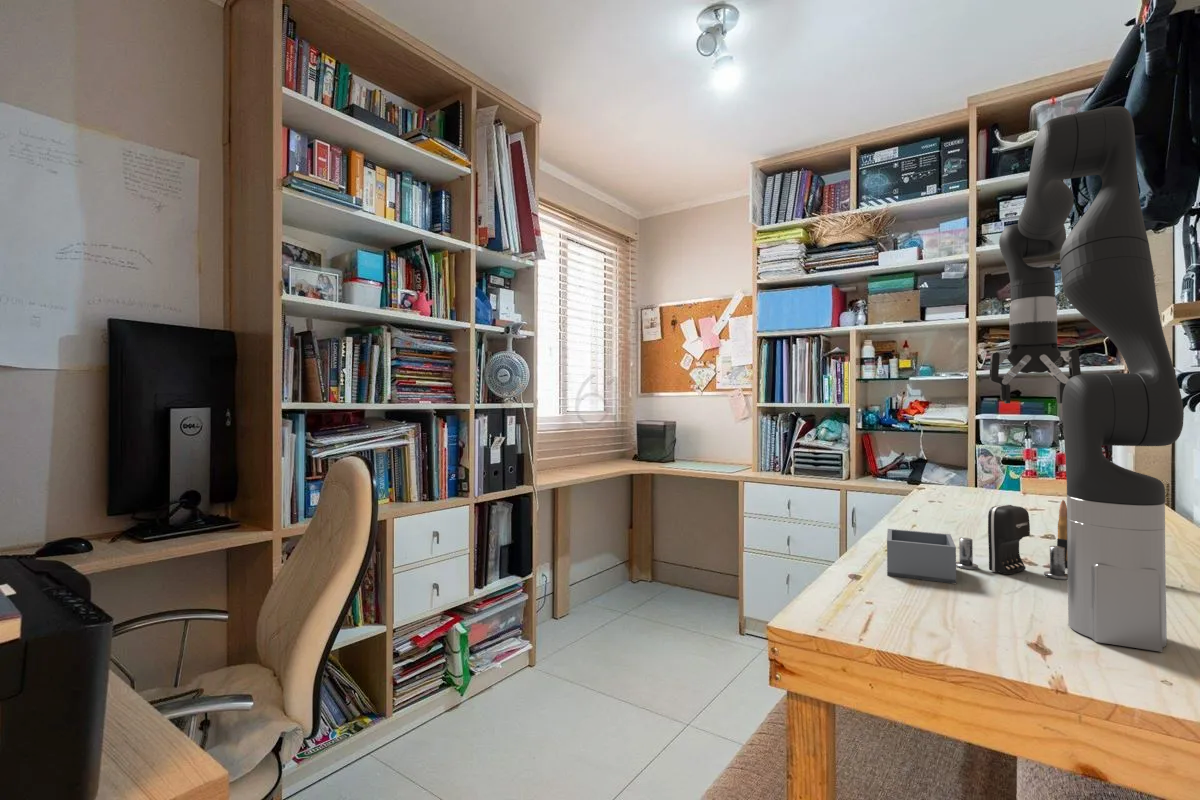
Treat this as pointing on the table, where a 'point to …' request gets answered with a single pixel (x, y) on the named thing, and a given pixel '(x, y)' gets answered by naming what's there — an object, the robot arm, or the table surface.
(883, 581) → the table surface
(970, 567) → the metal knobs
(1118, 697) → the table surface
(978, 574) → the table surface
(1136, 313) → the robot arm
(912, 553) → the bin
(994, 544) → the battery charger
